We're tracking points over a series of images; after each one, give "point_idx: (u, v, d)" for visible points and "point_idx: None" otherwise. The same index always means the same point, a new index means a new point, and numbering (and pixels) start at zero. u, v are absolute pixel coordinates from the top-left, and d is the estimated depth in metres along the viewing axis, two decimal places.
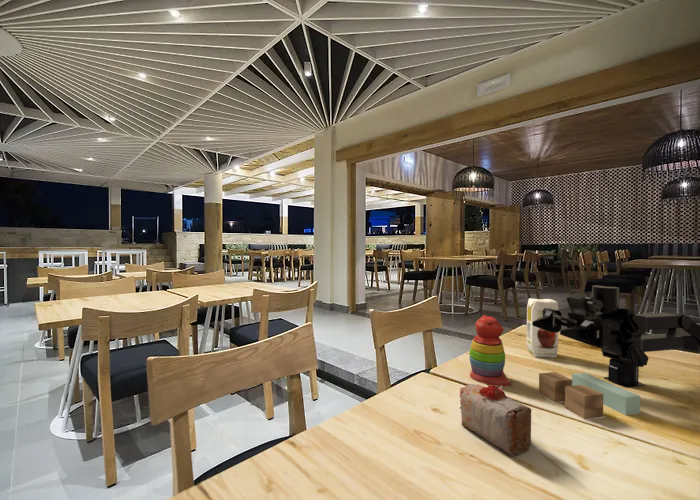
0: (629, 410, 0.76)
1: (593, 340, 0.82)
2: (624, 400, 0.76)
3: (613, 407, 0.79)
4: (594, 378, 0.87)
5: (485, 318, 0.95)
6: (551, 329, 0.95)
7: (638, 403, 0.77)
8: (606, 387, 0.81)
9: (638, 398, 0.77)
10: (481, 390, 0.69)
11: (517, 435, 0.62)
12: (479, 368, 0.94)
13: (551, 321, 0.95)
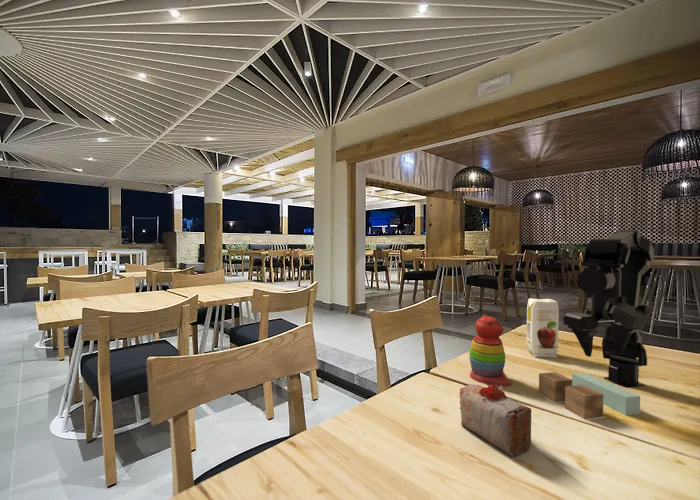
0: (629, 410, 0.76)
1: None
2: (624, 400, 0.76)
3: (613, 407, 0.79)
4: (594, 378, 0.87)
5: (485, 318, 0.95)
6: None
7: (638, 403, 0.77)
8: (606, 387, 0.81)
9: (638, 398, 0.77)
10: (481, 390, 0.69)
11: (517, 435, 0.62)
12: (479, 368, 0.94)
13: None
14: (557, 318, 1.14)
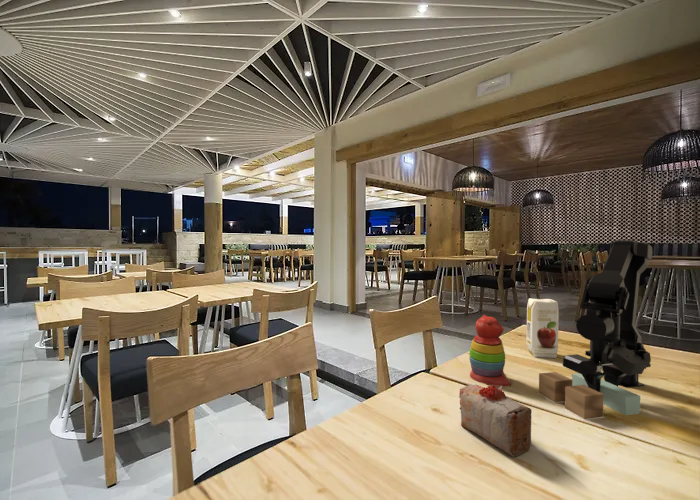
0: (629, 410, 0.76)
1: None
2: (624, 400, 0.76)
3: (613, 407, 0.79)
4: None
5: (485, 318, 0.95)
6: None
7: (638, 403, 0.77)
8: (606, 387, 0.81)
9: (638, 398, 0.77)
10: (481, 390, 0.68)
11: (517, 436, 0.62)
12: (479, 368, 0.94)
13: None
14: (557, 318, 1.14)
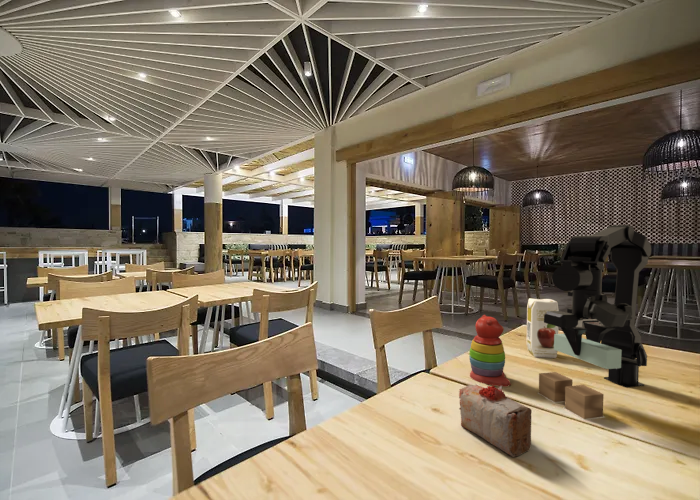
0: (609, 364, 0.74)
1: None
2: (605, 353, 0.74)
3: (594, 362, 0.77)
4: None
5: (485, 318, 0.95)
6: None
7: (619, 357, 0.75)
8: (588, 343, 0.79)
9: (619, 352, 0.75)
10: (481, 391, 0.68)
11: (517, 436, 0.62)
12: (479, 368, 0.94)
13: None
14: None
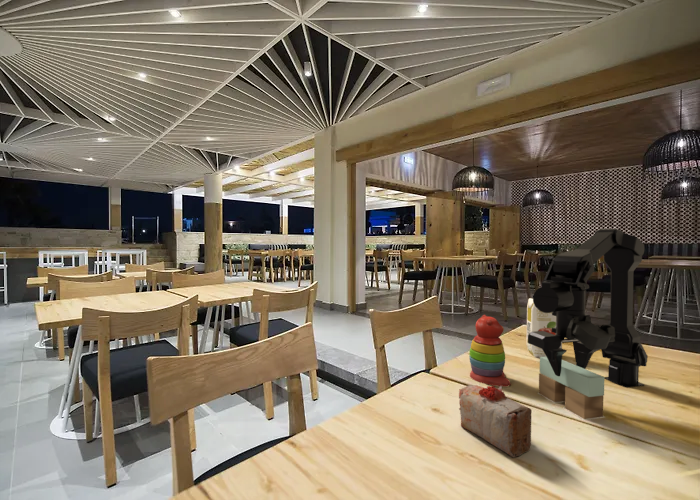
0: (592, 392, 0.74)
1: None
2: (587, 381, 0.74)
3: (577, 389, 0.76)
4: None
5: (485, 318, 0.95)
6: None
7: (602, 384, 0.74)
8: (571, 369, 0.79)
9: (602, 379, 0.74)
10: (481, 391, 0.68)
11: (517, 436, 0.62)
12: (479, 368, 0.94)
13: None
14: None
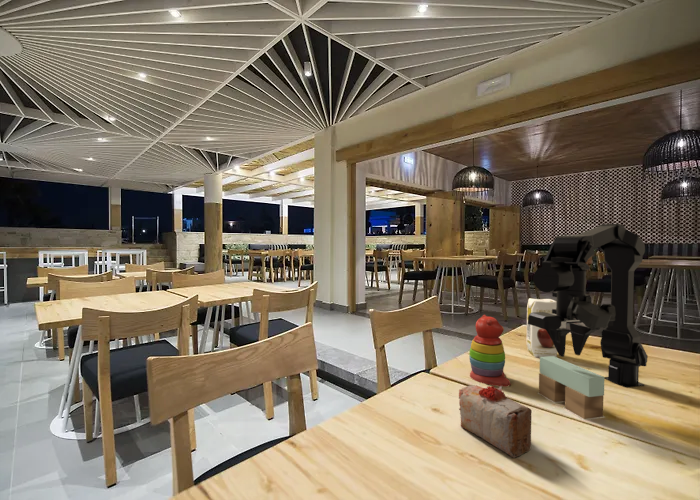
0: (592, 392, 0.74)
1: None
2: (587, 381, 0.74)
3: (577, 389, 0.76)
4: (561, 361, 0.84)
5: (485, 318, 0.95)
6: None
7: (602, 384, 0.74)
8: (571, 369, 0.79)
9: (602, 379, 0.74)
10: (481, 391, 0.68)
11: (518, 436, 0.62)
12: (479, 368, 0.94)
13: None
14: None
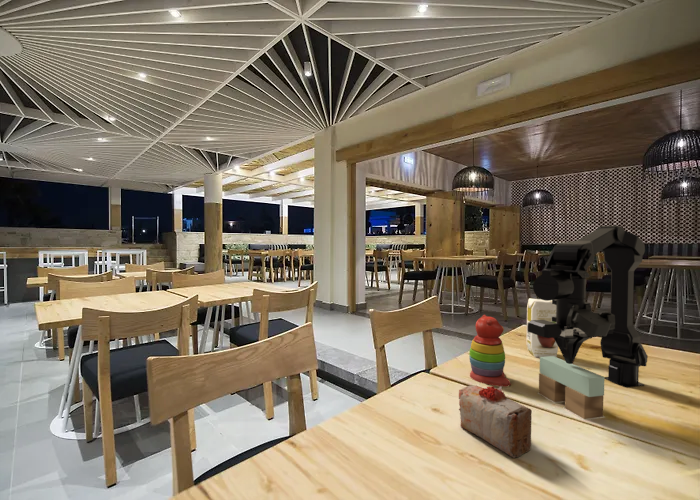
0: (592, 392, 0.74)
1: None
2: (587, 381, 0.74)
3: (577, 389, 0.76)
4: (561, 361, 0.84)
5: (485, 318, 0.95)
6: None
7: (602, 384, 0.74)
8: (571, 369, 0.79)
9: (602, 379, 0.74)
10: (481, 391, 0.68)
11: (518, 437, 0.62)
12: (479, 368, 0.94)
13: None
14: None
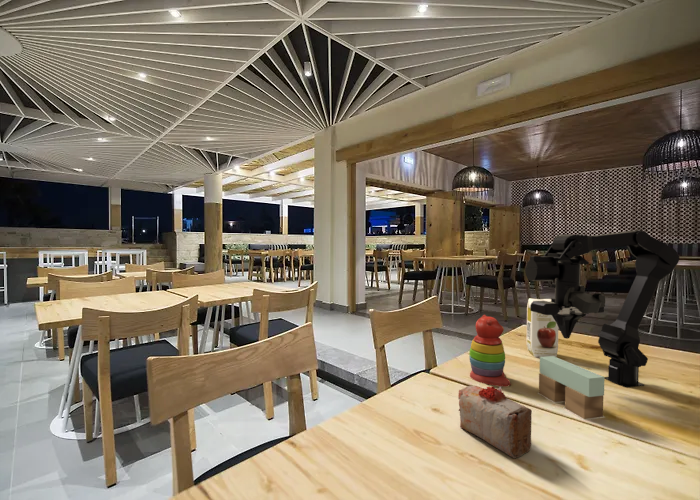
0: (592, 392, 0.74)
1: None
2: (587, 381, 0.74)
3: (577, 389, 0.76)
4: (561, 361, 0.84)
5: (485, 318, 0.95)
6: None
7: (602, 384, 0.74)
8: (571, 369, 0.79)
9: (602, 379, 0.74)
10: (481, 392, 0.68)
11: (518, 437, 0.62)
12: (479, 368, 0.94)
13: None
14: None
